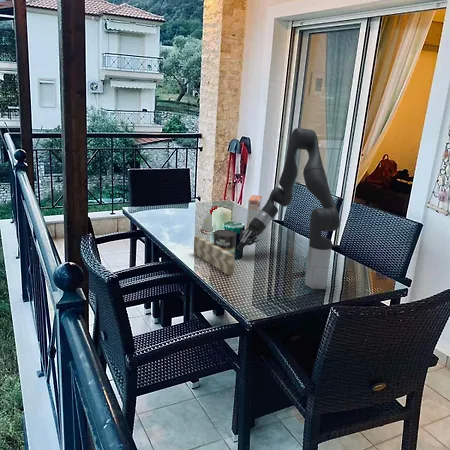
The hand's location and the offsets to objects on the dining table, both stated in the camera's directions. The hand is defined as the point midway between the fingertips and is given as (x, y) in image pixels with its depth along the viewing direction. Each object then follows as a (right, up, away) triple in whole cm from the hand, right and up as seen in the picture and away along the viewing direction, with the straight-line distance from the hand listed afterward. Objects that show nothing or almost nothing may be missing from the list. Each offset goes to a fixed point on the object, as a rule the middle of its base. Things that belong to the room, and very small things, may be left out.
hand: (238, 249), depth 216 cm
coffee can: (-7, -6, -3) cm, 9 cm away
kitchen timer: (-13, +8, +43) cm, 45 cm away
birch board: (-12, -6, -7) cm, 15 cm away
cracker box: (+9, +7, +44) cm, 46 cm away
